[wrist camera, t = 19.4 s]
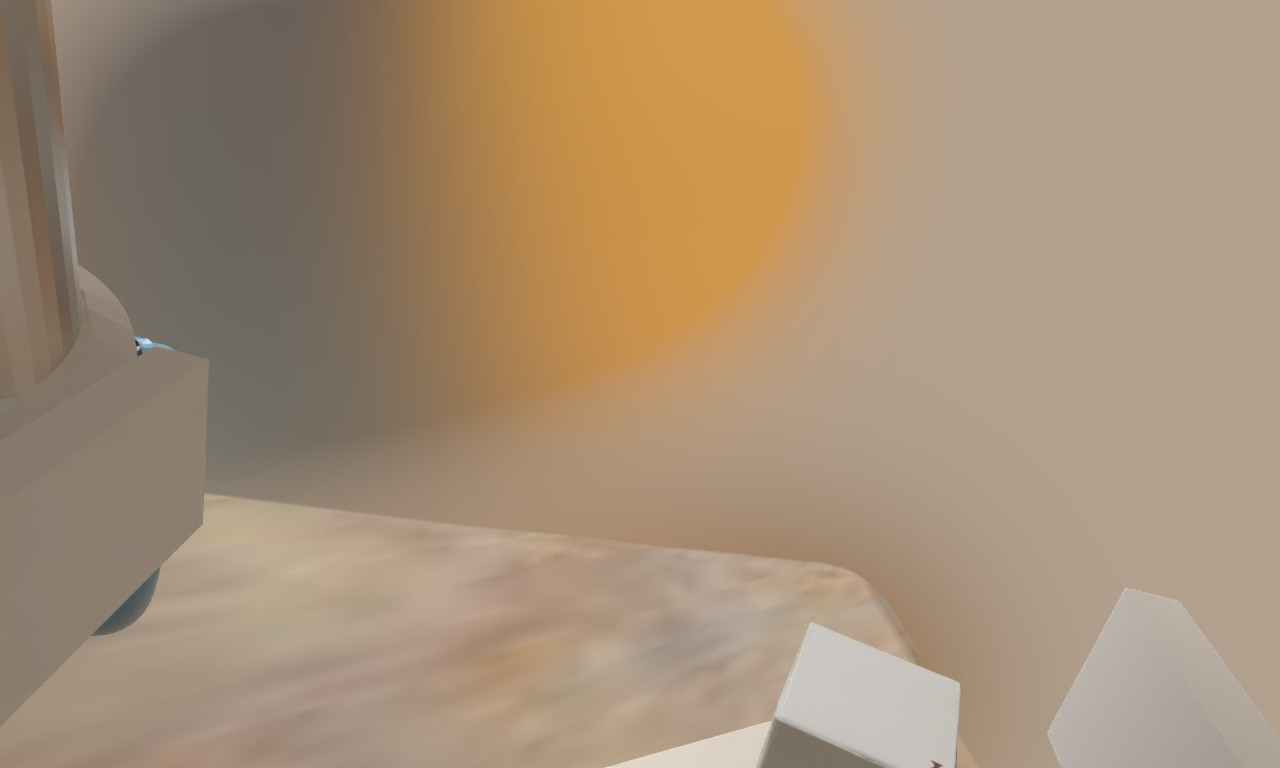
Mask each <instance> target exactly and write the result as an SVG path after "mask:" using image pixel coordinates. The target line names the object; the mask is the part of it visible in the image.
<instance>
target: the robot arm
mask: <svg viewBox="0 0 1280 768" xmlns="http://www.w3.org/2000/svg"><path fill="white" fill-rule="evenodd" d="M71 205H72V204H71V194H70V185H69V175H68V165H67V155H66V146H65V136H64V125H63V115H62V105H61V96H60V86H59V76H58V66H57V56H56V46H55V36H54V26H53V16H52V7H51V0H0V726H1V725H2V724H3V723H4V722H5V721H6V720H7V719H8V718H9V717H10V716H11V715H12V714H13V713H14V712H15V711H16V710H17V709H18V708H19V707H20V706H21V705H22V704H23V703H24V702H25V701H26V700H27V699H28V698H29V697H30V696H31V695H32V694H33V693H34V692H35V691H36V690H37V689H38V688H39V687H40V686H41V685H42V684H43V683H44V682H45V681H46V680H47V679H48V678H49V677H50V676H51V675H52V674H53V673H54V672H55V671H56V670H57V669H58V668H59V667H60V666H61V665H62V664H63V663H64V662H65V661H66V660H67V659H68V658H69V657H70V656H71V655H72V654H73V653H74V652H75V651H76V650H77V649H78V648H79V647H80V646H81V645H82V644H83V643H84V642H85V641H86V640H87V639H88V638H89V637H90V636H98V635H107V634H111V633H115V632H117V631H120V630H122V629H124V628H126V627H128V626H130V625H131V624H133V623H134V622H135V621H136V620H137V619H138V618H139V617H140V616H141V615H142V614H143V613H144V611H145V610H146V609H147V607H148V605H149V603H150V601H151V599H152V596H153V594H154V591H155V588H156V584H157V580H158V576H159V572H160V567H161V565H162V564H163V563H164V562H165V561H166V560H167V559H168V558H169V557H170V556H171V555H172V554H173V553H174V552H175V551H176V550H177V549H178V548H179V547H180V546H181V545H182V544H183V543H184V542H185V541H186V540H187V539H188V538H189V537H190V536H191V535H192V534H193V533H194V532H195V531H196V530H197V529H198V528H199V527H200V526H201V525H202V524H203V505H204V478H205V452H206V425H207V399H208V372H209V359H206V358H202V357H198V356H194V355H190V354H186V353H181V352H177V351H174V350H173V349H172V348H170V347H169V346H166V345H163V344H158V343H152V342H151V341H150V340H148V339H146V338H144V337H142V336H140V337H135V336H134V334H133V330H132V327H131V323H130V320H129V317H128V315H127V314H126V312H125V310H124V308H123V307H122V305H121V303H120V302H119V300H118V299H117V298H116V297H115V296H114V295H113V293H112V292H111V291H110V290H109V289H108V288H107V287H106V286H105V285H104V284H103V283H102V282H100V281H99V280H98V279H97V278H96V277H95V276H94V275H92V274H91V273H89V272H88V271H87V270H85V269H84V268H82V267H81V266H79V265H78V264H77V255H76V246H75V245H76V244H75V234H74V224H73V215H72V206H71ZM1047 735H1048V737H1049V740H1050V742H1051V745H1052V747H1053V749H1054V752H1055V754H1056V757H1057V759H1058V762H1059V764H1060V766H1061V768H1280V740H1279V738H1278V737H1277V735H1276V734H1275V733H1274V731H1273V730H1272V728H1271V727H1270V726H1269V724H1268V723H1267V722H1266V720H1265V719H1264V718H1263V716H1262V715H1261V713H1260V712H1259V710H1258V709H1257V708H1256V706H1255V705H1254V703H1253V702H1252V701H1251V700H1250V698H1249V697H1248V695H1247V694H1246V693H1245V691H1244V690H1243V688H1242V687H1241V686H1240V684H1239V683H1238V682H1237V680H1236V679H1235V677H1234V676H1233V675H1232V673H1231V672H1230V670H1229V669H1228V668H1227V666H1226V665H1225V663H1224V662H1223V661H1222V659H1221V658H1220V656H1219V655H1218V654H1217V652H1216V651H1215V650H1214V648H1213V647H1212V645H1211V644H1210V643H1209V641H1208V640H1207V638H1206V637H1205V636H1204V634H1203V633H1202V631H1201V630H1200V629H1199V627H1198V626H1197V625H1196V623H1195V622H1194V620H1193V619H1192V618H1191V616H1190V615H1189V613H1188V612H1187V611H1186V609H1185V608H1184V607H1183V605H1182V604H1181V602H1180V601H1179V600H1175V599H1171V598H1167V597H1163V596H1159V595H1155V594H1151V593H1147V592H1143V591H1139V590H1135V589H1131V588H1127V587H1126V588H1125V589H1124V591H1123V593H1122V595H1121V597H1120V599H1119V601H1118V602H1117V604H1116V606H1115V608H1114V610H1113V612H1112V613H1111V615H1110V617H1109V619H1108V621H1107V623H1106V624H1105V626H1104V628H1103V630H1102V632H1101V634H1100V636H1099V638H1098V639H1097V641H1096V643H1095V645H1094V647H1093V649H1092V650H1091V652H1090V654H1089V656H1088V658H1087V660H1086V662H1085V664H1084V665H1083V667H1082V669H1081V671H1080V672H1079V674H1078V677H1077V678H1076V680H1075V682H1074V684H1073V685H1072V687H1071V689H1070V691H1069V693H1068V695H1067V697H1066V698H1065V700H1064V702H1063V704H1062V706H1061V708H1060V709H1059V711H1058V713H1057V715H1056V717H1055V719H1054V721H1053V722H1052V724H1051V726H1050V728H1049V730H1048V732H1047Z"/></svg>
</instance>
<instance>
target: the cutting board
mask: <svg viewBox="0 0 1280 768" xmlns="http://www.w3.org/2000/svg"><path fill="white" fill-rule="evenodd" d="M771 722H772V721H769V722H765V723H762V724H758V725H754V726H751V727H747V728H744V729H740V730H737V731H733V732H730V733H726V734H722V735H719V736H715V737H712V738H708V739H705V740H701V741H698V742H694V743H691V744H687V745H683V746H680V747H676V748H673V749H669V750H666V751H662V752H659V753H655V754H652V755H648V756H644V757H641V758H637V759H634V760H630V761H627V762H623V763H620V764H616V765H612V766H609V767H605V768H756V765H757V762H758V759H759V756H760V753H761V751H762V748H763V745H764V742H765V739H766V737H767V734H768V731H769V728H770V725H771Z"/></svg>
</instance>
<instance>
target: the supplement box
mask: <svg viewBox="0 0 1280 768" xmlns="http://www.w3.org/2000/svg"><path fill="white" fill-rule="evenodd" d="M960 693H961V685H960V683H959V682H957V681H954V680H952V679H950V678H947V677H945V676H942V675H939V674H937V673H934V672H932V671H929V670H927V669H924V668H922V667H920V666H917V665H915V664H912V663H910V662H907V661H905V660H902V659H900V658H898V657H895V656H893V655H890V654H888V653H885V652H883V651H881V650H878V649H876V648H873V647H871V646H868V645H866V644H864V643H861V642H859V641H856V640H854V639H851V638H849V637H847V636H844V635H842V634H839V633H837V632H835V631H832V630H830V629H828V628H825V627H823V626H821V625H818V624H816V623H814V622H810V625H809V627H808V629H807V632H806V634H805V636H804V639H803V641H802V644H801V646H800V649H799V651H798V653H797V656H796V658H795V661H794V663H793V666H792V668H791V671H790V673H789V676H788V678H787V681H786V683H785V686H784V688H783V691H782V694H781V697H780V699H779V702H778V705H777V707H776V710H775V713H774V715H773V718H772V722H771V725H770V728H769V731H768V734H767V737H766V739H765V742H764V745H763V748H762V751H761V753H760V756H759V759H758V762H757V765H756V768H956V760H957V737H958V723H959V707H960Z"/></svg>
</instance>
